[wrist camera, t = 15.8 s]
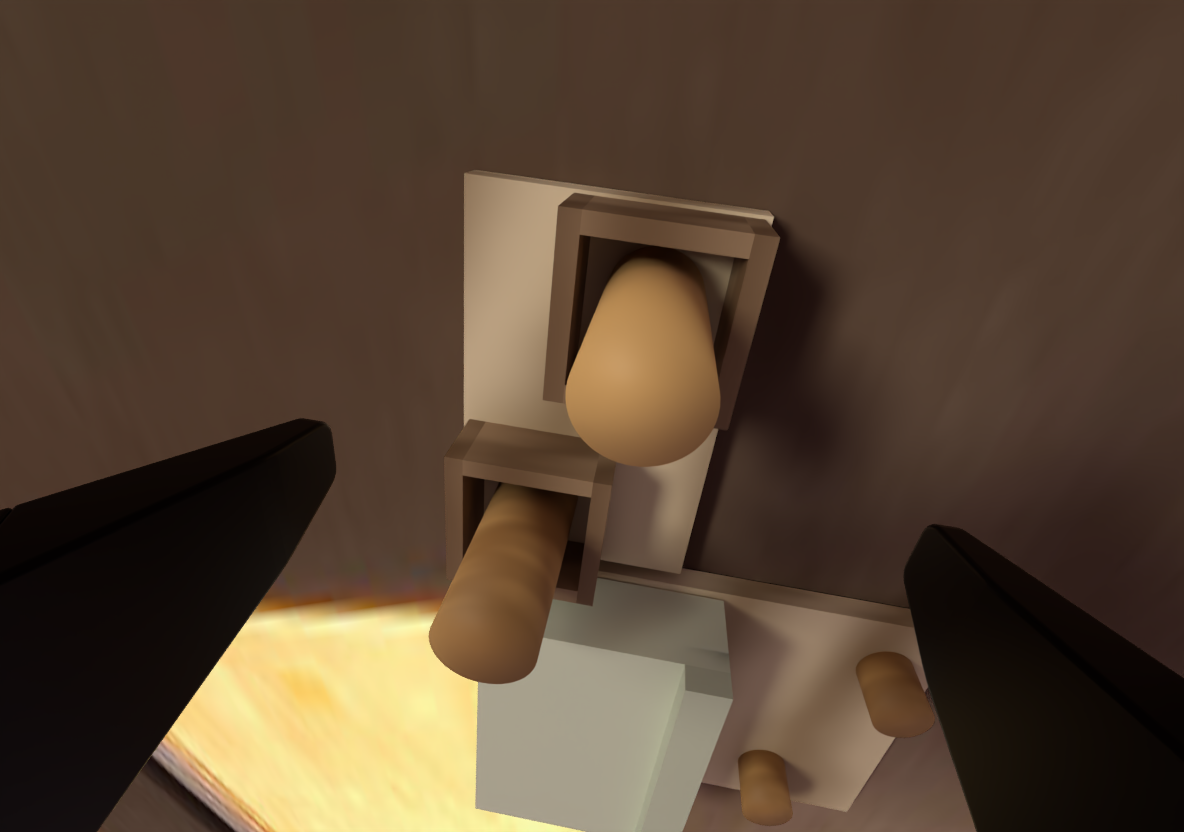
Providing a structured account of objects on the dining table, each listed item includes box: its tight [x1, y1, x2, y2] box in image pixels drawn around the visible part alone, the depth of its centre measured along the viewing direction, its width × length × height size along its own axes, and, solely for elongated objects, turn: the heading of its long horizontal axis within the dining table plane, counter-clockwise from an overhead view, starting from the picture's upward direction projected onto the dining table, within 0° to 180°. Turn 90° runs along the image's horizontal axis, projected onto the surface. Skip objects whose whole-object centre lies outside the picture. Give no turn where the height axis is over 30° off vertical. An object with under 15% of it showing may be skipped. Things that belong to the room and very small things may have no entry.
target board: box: [429, 170, 780, 684], centre depth 16 cm, size 9×14×8 cm, turn 174°
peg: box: [565, 246, 720, 467], centre depth 14 cm, size 3×3×7 cm
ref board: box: [597, 560, 935, 826], centre depth 25 cm, size 19×13×3 cm
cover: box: [475, 578, 733, 832], centre depth 24 cm, size 9×13×4 cm
